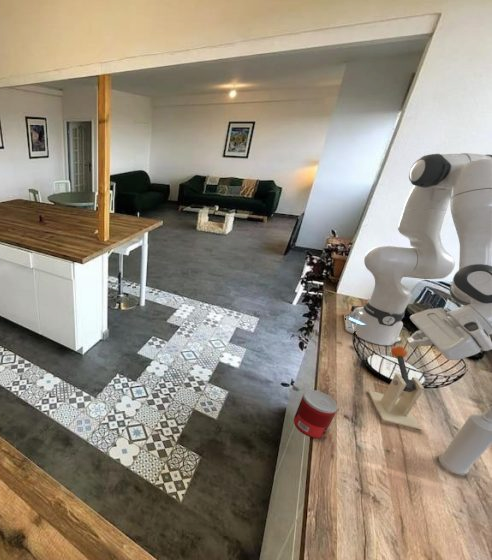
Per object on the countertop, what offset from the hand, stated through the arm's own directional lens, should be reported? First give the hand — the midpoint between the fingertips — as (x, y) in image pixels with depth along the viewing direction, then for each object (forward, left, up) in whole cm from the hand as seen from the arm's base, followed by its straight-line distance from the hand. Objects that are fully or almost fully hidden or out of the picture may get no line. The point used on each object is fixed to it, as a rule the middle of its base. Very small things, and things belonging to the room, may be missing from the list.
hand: (408, 343), depth 95 cm
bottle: (+26, +6, -20) cm, 33 cm away
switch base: (+10, -1, -19) cm, 22 cm away
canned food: (+26, -26, -20) cm, 42 cm away
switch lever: (+4, -1, -8) cm, 9 cm away
